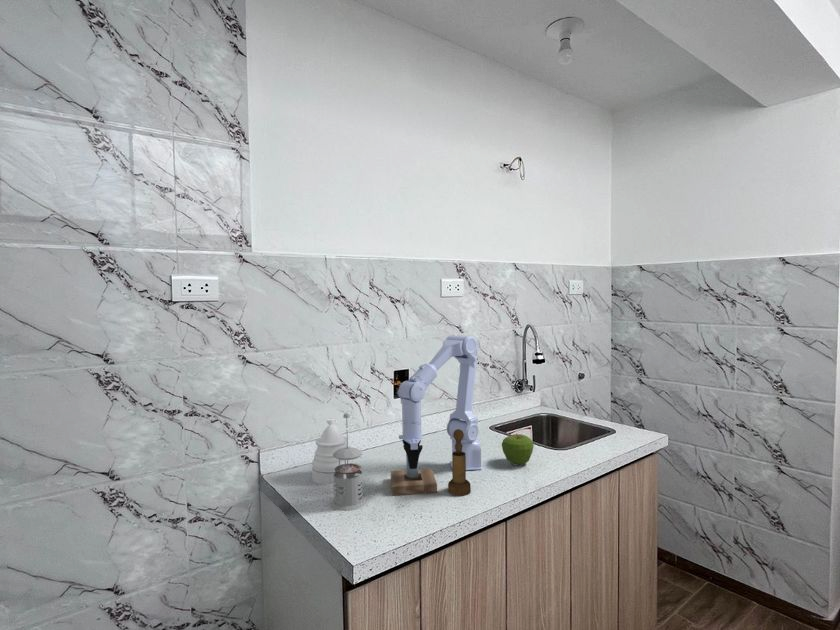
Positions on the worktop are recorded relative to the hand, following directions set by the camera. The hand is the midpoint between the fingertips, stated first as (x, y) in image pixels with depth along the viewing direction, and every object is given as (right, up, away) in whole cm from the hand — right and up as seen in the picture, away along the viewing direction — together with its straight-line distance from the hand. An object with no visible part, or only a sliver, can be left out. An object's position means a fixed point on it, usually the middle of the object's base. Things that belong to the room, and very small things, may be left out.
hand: (412, 465), depth 131 cm
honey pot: (-26, -7, +9) cm, 28 cm away
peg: (0, -3, 0) cm, 3 cm away
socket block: (0, -6, 0) cm, 6 cm away
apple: (+36, -5, +17) cm, 40 cm away
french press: (-18, -7, -10) cm, 22 cm away
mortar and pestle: (+14, -6, -5) cm, 16 cm away
